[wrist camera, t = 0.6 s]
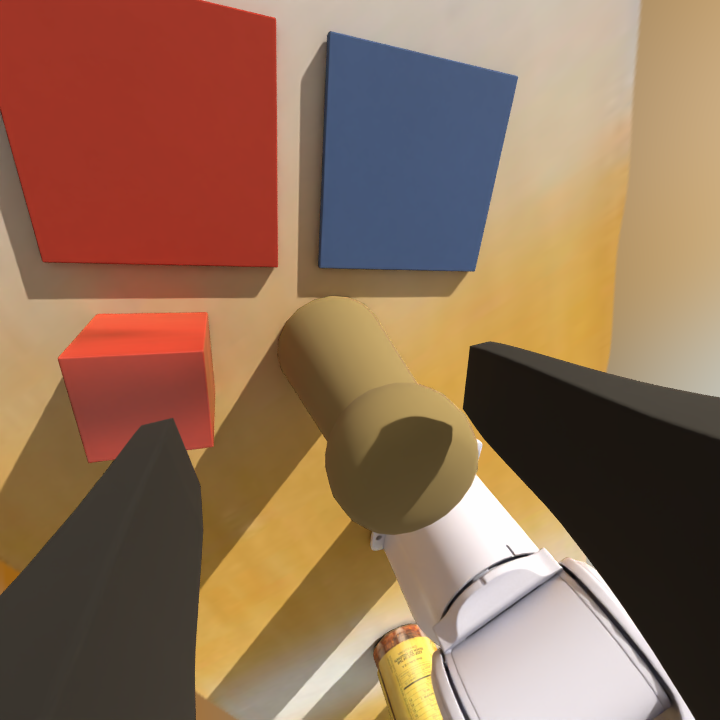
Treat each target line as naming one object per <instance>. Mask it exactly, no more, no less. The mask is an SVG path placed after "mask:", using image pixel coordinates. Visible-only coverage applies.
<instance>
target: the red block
mask: <svg viewBox="0 0 720 720" xmlns="http://www.w3.org/2000/svg"><path fill="white" fill-rule="evenodd" d="M58 362H59V365H60V368H61V372H62V375H63V379H64V382H65V385H66V389H67V392H68V396H69V399H70V402H71V406H72V409H73V413H74V416H75V419H76V423H77V426H78V429H79V433H80V436H81V440H82V443H83V446H84V450H85V453H86V457H87V460H88V462H89V463H92V462H100V461H107V460H115V458H116V457H117V456H118V454H119V453H120V452H121V451H122V449H123V448H124V447H125V445H126V444H127V443H128V441H129V440H130V439H131V437H132V436H133V435H134V434H135V432H136V431H137V430H138V429H139V427H140V426H141V425H145V424H149V423H153V422H157V421H162V420H166V419H170V418H173V419H174V421H175V423H176V426H177V428H178V431H179V433H180V436H181V438H182V441H183V443H184V446H185V448H186V450H192V449H200V448H208V447H213V445H214V416H215V386H214V375H213V364H212V354H211V343H210V332H209V322H208V313H206V312H199V313H142V314H97V315H96V316H95V317H94V318H93V319H92V320H91V321H90V322H89V323H88V325H87V326H86V327H85V328H84V329H83V330H82V331H81V332H80V334H79V335H78V336H77V337H76V338H75V339H74V340H73V341H72V343H71V344H70V345H69V346H68V347H67V348H66V349H65V350H64V352H63V353H62V354H61V355H60V356H59V357H58Z"/></svg>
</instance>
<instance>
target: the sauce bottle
mask: <svg viewBox="0 0 720 720" xmlns="http://www.w3.org/2000/svg"><path fill="white" fill-rule="evenodd" d="M436 650H437V648H436V646H435V644H434V642H433V641H432V640H430V639H429V638H428V637H427V636H426V635H425V634H424V633H423V632H422V631H421V629H420V628H419V626H418V625H417V624H408V625H403V626H401V627H398V628H396V629H393V630H391V631H389V632H388V633H387V634H385V635H384V637H383V638H382V639H381V640H380V642H379V643H378V644H377V645H376V647H375V649H374V653H373V657H374V660H375V663H376V666H377V669H378V672H377V674H378V678H379V681H380V684H381V687H382V691H383V694H384V697H385V700H386V703H387V706H388V709H389V713H390V716H391V719H392V720H443V718H442V715H441V712H440V710H439V707H438V704H437V701H436V698H435V694H434V690H433V686H432V681H431V670H432V655H433V653H434V651H436Z"/></svg>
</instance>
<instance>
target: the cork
mask: <svg viewBox="0 0 720 720" xmlns="http://www.w3.org/2000/svg"><path fill="white" fill-rule="evenodd" d="M277 356H278V359H279V363H280V367H281V370H282V372H283V373H284V375H285V376H286V378H287V379H288V381H289V383H290V384H291V386H292V387H293V389H294V390H295V392H296V393H297V395H298V397H299V398H300V400H301V401H302V403H303V404H304V406H305V407H306V409H307V411H308V412H309V414H310V415H311V417H312V418H313V420H314V421H315V423H316V425H317V426H318V428H319V429H320V431H321V432H322V434H323V435H324V437H325V439H326V440H327V448H326V454H325V468H326V472H327V476H328V480H329V484H330V487H331V490H332V494H333V497H334V498H335V500H336V501H337V502H338V504H339V505H340V506H341V508H342V509H343V510H344V511H345V512H346V514H347V515H348V516H349V517H350V518H351V520H352V521H354V522H356V523H357V524H359V525H361V526H362V527H364V528H366V529H369V530H371V531H373V532H375V533H377V534H387V535H398V534H403V533H409V532H414V531H416V530H419V529H421V528H424V527H426V526H429V525H431V524H433V523H434V522H436V521H438V520H439V519H441V518H442V517H444V516H445V515H447V514H448V513H449V512H450V511H451V510H452V509H453V508H454V507H455V506H456V505H457V504H458V503H459V502H460V501H461V500H462V498H463V497H464V496H465V494H466V493H467V491H468V490H469V488H470V487H471V486H472V483H473V481H474V478H475V475H476V473H477V470H478V444H477V439H476V437H475V434H474V432H473V429H472V426H471V424H470V423H469V421H468V419H467V417H466V415H465V414H464V413H463V412H462V411H461V410H460V409H459V408H458V407H457V406H456V405H455V404H454V403H452V402H451V401H450V400H449V399H448V398H447V397H446V396H445V395H444V394H442V393H440V392H438V391H436V390H434V389H432V388H429V387H426V386H423V385H420V384H418V383H417V382H416V380H415V378H414V377H413V375H412V374H411V372H410V370H409V369H408V367H407V366H406V364H405V362H404V361H403V359H402V357H401V356H400V354H399V353H398V351H397V349H396V348H395V346H394V345H393V343H392V341H391V340H390V338H389V337H388V335H387V333H386V332H385V330H384V329H383V327H382V325H381V324H380V322H379V321H378V319H377V317H376V316H375V314H374V313H373V312H372V311H371V310H370V309H369V308H367V307H366V306H365V305H364V304H363V303H361V302H358V301H356V300H354V299H352V298H349V297H340V296H329V297H324V298H320V299H316V300H313V301H311V302H310V303H308V304H306V305H305V306H303V307H301V308H299V309H298V310H297V311H296V312H295V313H294V314H293V316H292V317H291V318H290V319H289V320H288V321H287V322H286V324H285V326H284V328H283V330H282V333H281V335H280V337H279V342H278V353H277Z"/></svg>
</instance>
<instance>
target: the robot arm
mask: <svg viewBox="0 0 720 720" xmlns="http://www.w3.org/2000/svg"><path fill="white" fill-rule="evenodd" d="M463 410H464V411H465V412H466V414H467V415H468V417H469V418H470V420H471V421H472V423H473V424H474V426H475V427H476V429H477V430H478V431H479V433H480V434H481V435H482V437H483V438H484V439H485V441H486V442H487V443H488V444H489V445H490V446H491V447H492V448H493V449H494V451H495V452H496V453H497V454H498V455H499V456H500V457H501V458H502V459H503V460H504V461H505V463H506V464H507V465H508V466H509V467H510V468H511V469H512V470H513V471H514V472H515V473H516V474H517V475H518V476H519V477H520V479H521V480H522V481H523V482H524V483H525V484H526V485H527V486H528V487H529V488H530V489H531V490H532V491H533V492H534V494H535V495H536V496H537V497H538V498H539V499H540V500H541V501H542V502H543V503H544V504H545V505H546V506H547V508H548V509H549V510H550V511H551V512H552V513H553V515H554V516H555V517H556V518H557V519H558V520H559V522H560V523H561V524H562V525H563V527H564V528H565V529H566V531H567V532H568V533H569V534H570V536H571V537H572V538H573V540H574V541H575V542H576V543H577V545H578V546H579V547H580V549H581V550H582V551H583V553H584V554H585V555H586V556H587V558H588V559H589V560H590V562H591V563H592V565H593V566H594V567H595V569H596V570H597V571H596V570H595V569H594V568H593V567H591V566H590V565H588V564H587V563H584V562H581V561H577V560H574V559H572V558H569V557H566V558H564V559H563V560H562V561H560V562H559V563H558V562H557V561H556V560H555V559H554V558H553V557H552V555H551V554H550V553H549V552H548V551H547V550H546V549H545V548H542V549H540V550H539V549H538V548H537V546H536V545H535V544H534V543H533V542H532V540H531V539H530V538H529V537H528V536H527V535H526V533H525V532H524V531H523V530H522V529H521V527H520V526H519V525H518V524H517V523H516V521H515V520H514V519H513V518H512V517H511V516H510V514H509V513H508V512H507V511H506V510H505V508H504V507H503V506H502V505H501V504H500V503H499V501H498V500H497V499H496V498H495V497H494V495H493V494H492V493H491V492H490V491H489V489H488V488H487V487H486V486H485V485H484V484H483V482H482V481H481V480H480V479H479V478H478V476H477V475H475V478H474V481H473V483H472V486H471V487H470V488H469V490H468V491H467V493H466V494H465V496H464V497H463V498H462V500H461V501H460V502H459V503H458V504H457V505H456V506H455V507H454V508H453V509H452V510H451V511H450V512H449V513H448V514H447V515H445V516H444V517H442V518H441V519H439V520H438V521H436V522H434V523H433V524H431V525H429V526H426V527H424V528H421V529H419V530H416V531H414V532H409V533H403V534H398V535H387V534H377V533H375V532H373V531H372V534H371V541H370V547H371V549H372V550H374V551H377V550H381V549H384V551H385V553H386V555H387V558H388V560H389V562H390V565H391V567H392V569H393V572H394V574H395V576H396V578H397V581H398V583H399V585H400V588H401V590H402V592H403V595H404V597H405V599H406V602H407V604H408V606H409V609H410V611H411V613H412V616H413V618H414V620H415V622H416V623H417V625H418V626H419V628H420V629H421V631H422V632H423V633H424V634H425V635H426V636H427V637H428V638H429V639H430V640H432V641H433V642H434V643H436V644H437V645H439V646H440V648H439V649H437V650H436V651H434V653H433V655H432V670H431V681H432V686H433V690H434V694H435V698H436V701H437V704H438V707H439V710H440V712H441V715H442V718H443V720H720V398H719V397H714V396H707V395H702V394H697V393H692V392H687V391H682V390H677V389H672V388H666V387H662V386H658V385H653V384H649V383H644V382H640V381H636V380H632V379H628V378H624V377H620V376H616V375H612V374H608V373H605V372H601V371H597V370H594V369H590V368H586V367H583V366H579V365H576V364H573V363H569V362H566V361H562V360H559V359H555V358H552V357H549V356H545V355H542V354H538V353H535V352H531V351H528V350H524V349H521V348H517V347H513V346H509V345H505V344H501V343H496V342H485V343H481V344H477V345H473V346H470V351H469V360H468V368H467V377H466V386H465V394H464V403H463ZM477 444H478V459H479V456H480V452H481V449H482V443H481V442H480V441H479V440H477ZM202 542H203V517H202V500H201V486H200V483H199V481H198V478H197V476H196V473H195V471H194V468H193V466H192V463H191V461H190V458H189V456H188V453H187V451H186V448H185V446H184V443H183V441H182V438H181V436H180V433H179V431H178V428H177V426H176V423H175V421H174V419H173V418H170V419H166V420H162V421H157V422H153V423H149V424H145V425H141V426H140V427H139V429H138V430H137V431H136V432H135V434H134V435H133V436H132V437H131V439H130V440H129V441H128V443H127V444H126V445H125V447H124V448H123V449H122V451H121V452H120V453H119V454H118V456H117V457H116V458H115V460H114V461H113V462H112V464H111V465H110V466H109V468H108V469H107V470H106V471H105V473H104V474H103V475H102V477H101V478H100V479H99V480H98V482H97V483H96V484H95V485H94V487H93V488H92V489H91V491H90V492H89V493H88V494H87V496H86V497H85V498H84V499H83V501H82V502H81V503H80V504H79V506H78V507H77V508H76V509H75V511H74V512H73V513H72V514H71V515H70V517H69V518H68V519H67V520H66V521H65V522H64V524H63V525H62V526H61V527H60V528H59V529H58V530H57V532H56V533H55V534H54V535H53V536H52V537H51V539H50V540H49V541H48V542H47V543H46V544H45V546H44V547H43V548H42V549H41V550H40V551H39V553H38V554H37V555H36V556H35V557H34V558H33V560H32V561H31V562H30V563H29V564H28V565H27V567H26V568H25V569H24V570H23V571H22V572H21V573H20V574H19V576H18V577H17V578H16V579H15V580H14V581H13V582H12V583H11V584H10V585H9V587H8V588H7V589H6V590H5V591H4V592H3V593H2V594H1V595H0V720H196V709H195V649H196V632H197V618H198V603H199V588H200V573H201V558H202Z"/></svg>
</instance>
